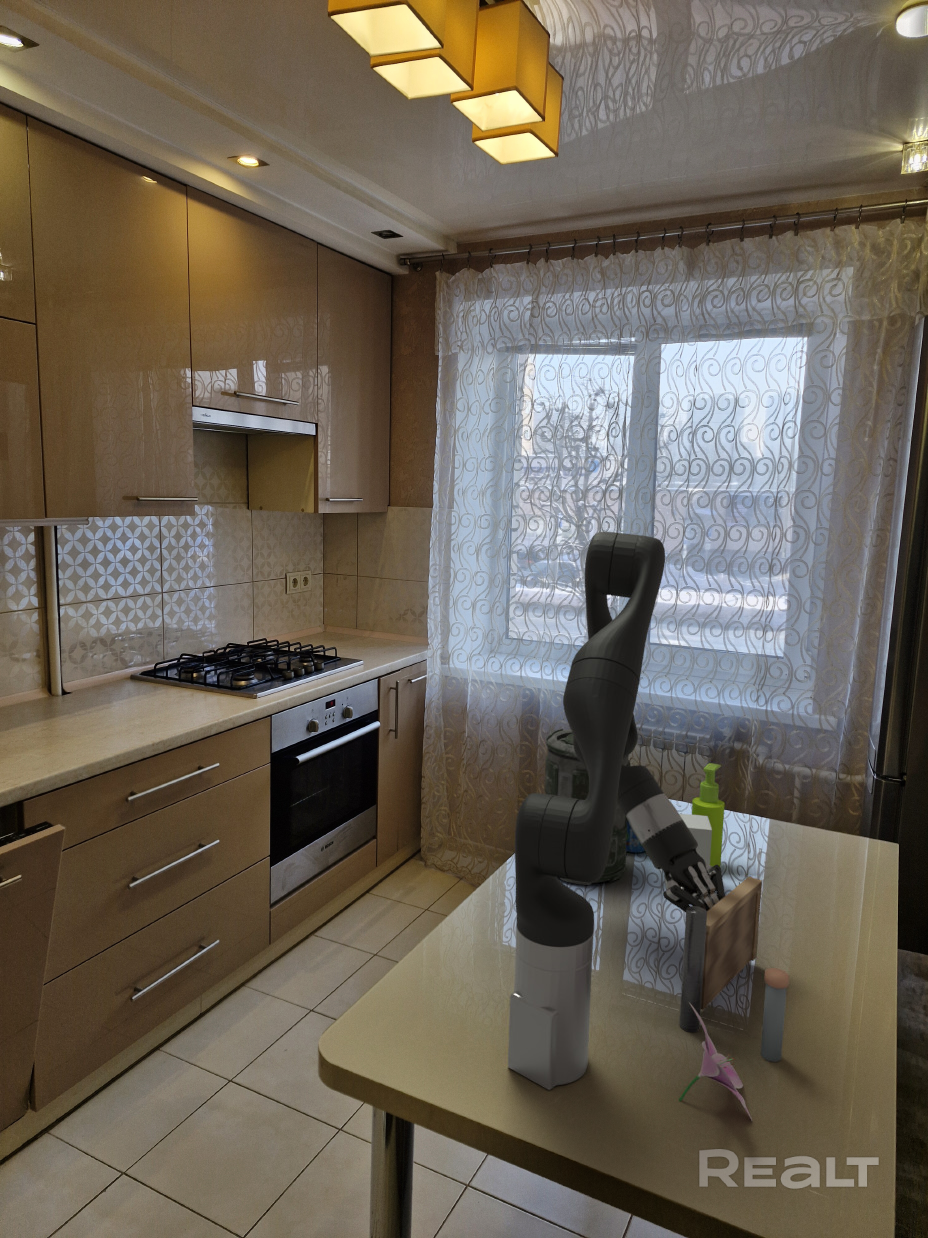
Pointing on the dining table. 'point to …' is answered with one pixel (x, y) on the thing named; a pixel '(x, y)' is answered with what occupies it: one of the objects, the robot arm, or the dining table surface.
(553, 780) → the canister
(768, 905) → the dining table surface
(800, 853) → the dining table surface
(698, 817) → the supplement box
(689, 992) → the gatepost
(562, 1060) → the robot arm
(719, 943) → the gate
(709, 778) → the soap dispenser
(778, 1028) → the stop post
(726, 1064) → the lily
